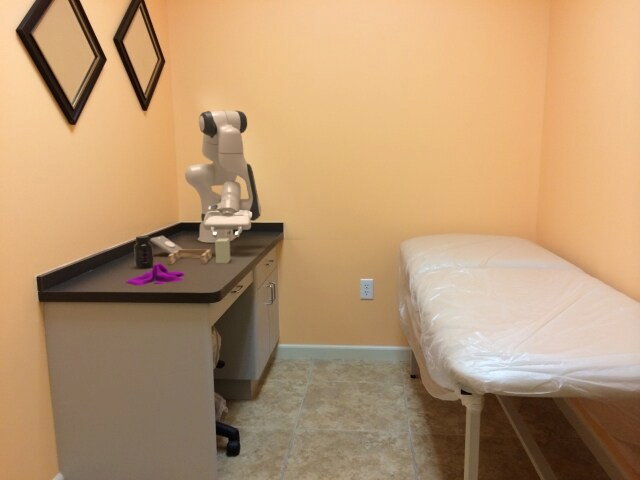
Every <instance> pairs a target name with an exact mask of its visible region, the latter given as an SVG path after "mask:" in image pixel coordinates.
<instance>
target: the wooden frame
mask: <svg viewBox="0 0 640 480" xmlns="http://www.w3.org/2000/svg"><path fill="white" fill-rule="evenodd" d="M212 256H213V255H212V249H211V248H203V249H202V248H201V249H200V248H199V249H193V248H191V249H184V250H176V251H175V252H173V253H172V254H168V255H167V265H168V266H169V265H173V264H174V263H175V262H176V261H178V260H180V259H200V264H201V265H205V264H206V263H207V262H208V261H210V260H211V258H213V257H212Z"/></svg>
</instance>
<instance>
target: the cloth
mask: <svg viewBox="0 0 640 480" xmlns="http://www.w3.org/2000/svg"><path fill="white" fill-rule="evenodd" d="M184 276H185V273H184V272H182V271H178V270H177V271H169V269H168V268H167V267H165V265H163V264H162V263H161V262H157V263H154V265H153V266H152V269H151V270H150V271H146V272H144V273H142V274H141V275H139V276H135V277H132V278H130V279H128V280H126V281H125V284H130V285H131V284H132V285H136V286H139V287H140V286H145V285H146V284H149V283H153V282H154V284H153V285H165V283H172V282H179V281H184V278H183V277H184Z"/></svg>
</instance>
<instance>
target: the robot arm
mask: <svg viewBox="0 0 640 480" xmlns="http://www.w3.org/2000/svg"><path fill="white" fill-rule="evenodd" d="M198 127H199V129H200V131H201V133H203V134H202V136H203V137H202V150H201V152H202V155H203V156H204V158H205V159H207V160H208V161H211V162H212V163H196V164H192V165H189V166H187V168H186V170H185V174H184V177H185V181H186V182H187V184H188V185H190V186H191V187H192V188H193V189H194V190H196V192H197V193H198V195H199V198H200V204H201V216H200V218H201V222H200V224H199V237H198V238H197V241H199V242H202V243H215V241H216V240H217V239H229V241H230V242H233V241H234V240H235V239H236V238H240V234H241V233H242V232H243V230H244V231H245V230H246V231H247V230H250V229H251V227H252V222H251V221H253V222H254V221H256V220H258V219H259V218H260V217H261V215H262V205H261V203H260V200H259V196H258V191H257V187H256V181H255V180H256V179H255V176H254V175H255V174H254V172H253V168H252V165H251V164H249V163H247V161H246V159H245V155H244V154H245V153H244V144H243V143H244V141H243V137H242V134H243V133H245V132H246V130H247V129H248V118H247V115H246V114H245V112H243V111H240V110H231V109H230V110H228V109H227V110H226V109H222V110H212V111H211V110H207V111H203V112H201V113H200V115H199V118H198ZM237 176H238V177H240V178H241V179H243V181H244V182H245V185H246V190H247V195H248V198H241V197H242V195H241V194H242V187H241V184H240V182H238V181H236V180H237V178H238V177H237ZM214 186H219V187H220V186H222V188H221V193H218V192H215V191H213V188H212V187H214ZM234 230H235V233H234ZM236 230H237V231H236Z"/></svg>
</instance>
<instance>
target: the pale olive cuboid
mask: <svg viewBox="0 0 640 480" xmlns="http://www.w3.org/2000/svg"><path fill="white" fill-rule="evenodd" d="M230 242H231V241H229V239H217V240H216V241H215V242H214V248H215V264H228V263H229V262H230V261H231V246H230V245H231V244H230Z"/></svg>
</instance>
